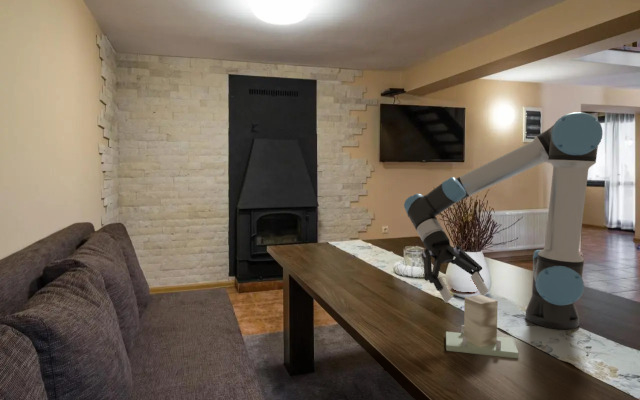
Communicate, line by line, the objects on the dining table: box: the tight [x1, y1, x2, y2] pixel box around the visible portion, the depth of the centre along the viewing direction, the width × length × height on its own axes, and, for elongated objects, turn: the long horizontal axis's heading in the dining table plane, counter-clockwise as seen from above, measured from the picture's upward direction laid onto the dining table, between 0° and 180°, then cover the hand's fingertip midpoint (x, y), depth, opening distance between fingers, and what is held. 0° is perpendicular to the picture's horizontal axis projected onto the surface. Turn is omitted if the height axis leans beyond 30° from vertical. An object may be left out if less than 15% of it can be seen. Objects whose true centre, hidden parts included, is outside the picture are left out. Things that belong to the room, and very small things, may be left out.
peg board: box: [445, 324, 520, 359], centre depth 116 cm, size 18×10×4 cm, turn 74°
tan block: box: [463, 294, 499, 347], centre depth 115 cm, size 6×6×12 cm
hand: (467, 296), depth 119 cm, fingers open, 13 cm apart
